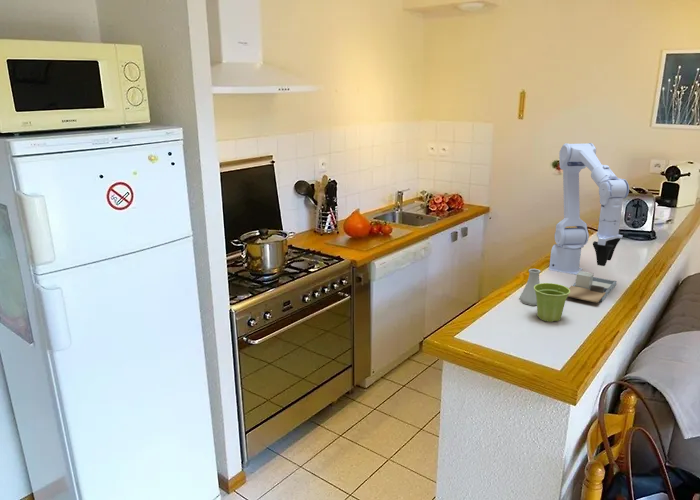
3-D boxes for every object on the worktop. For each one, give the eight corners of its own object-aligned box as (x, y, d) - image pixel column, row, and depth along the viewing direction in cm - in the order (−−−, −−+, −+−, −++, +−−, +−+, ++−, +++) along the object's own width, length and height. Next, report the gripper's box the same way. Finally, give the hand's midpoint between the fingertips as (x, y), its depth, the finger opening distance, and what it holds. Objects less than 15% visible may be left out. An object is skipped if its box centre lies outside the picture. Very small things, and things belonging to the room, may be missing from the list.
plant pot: (563, 327, 142) (566, 297, 140) (527, 320, 147) (530, 290, 144) (569, 315, 150) (573, 286, 147) (535, 308, 154) (538, 280, 152)
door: (562, 295, 160) (563, 289, 159) (571, 286, 167) (572, 280, 166) (597, 302, 154) (598, 296, 153) (605, 293, 161) (606, 287, 160)
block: (574, 290, 167) (576, 274, 165) (578, 287, 170) (580, 271, 168) (588, 293, 165) (590, 276, 163) (591, 289, 168) (593, 273, 166)
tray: (566, 296, 164) (566, 291, 163) (582, 279, 178) (583, 275, 178) (601, 303, 158) (602, 298, 157) (615, 285, 172) (616, 281, 172)
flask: (532, 308, 155) (534, 275, 152) (514, 300, 161) (516, 268, 158) (549, 303, 158) (553, 271, 155) (531, 295, 164) (534, 265, 162)
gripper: (618, 226, 152) (612, 271, 156) (629, 216, 163) (623, 259, 167) (592, 222, 156) (587, 266, 160) (604, 214, 167) (599, 255, 171)
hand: (604, 262), depth 164 cm, fingers open, 6 cm apart
